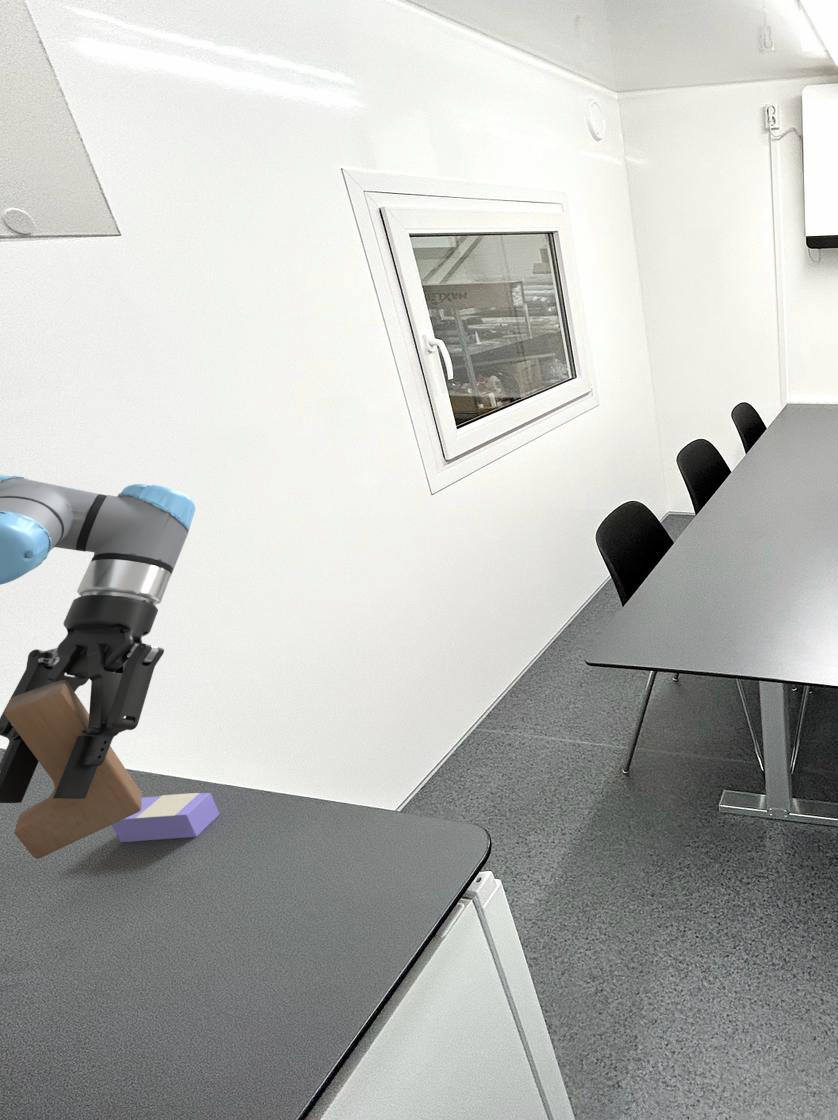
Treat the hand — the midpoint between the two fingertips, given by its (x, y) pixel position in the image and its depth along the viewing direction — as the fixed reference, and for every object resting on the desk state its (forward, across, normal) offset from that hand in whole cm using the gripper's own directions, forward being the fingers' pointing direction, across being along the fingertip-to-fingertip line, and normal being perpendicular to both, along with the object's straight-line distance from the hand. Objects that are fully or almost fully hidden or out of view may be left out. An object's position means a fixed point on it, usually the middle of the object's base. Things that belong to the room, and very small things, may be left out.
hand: (37, 800), depth 69 cm
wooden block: (+3, +1, -8) cm, 9 cm away
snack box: (+3, +3, -22) cm, 22 cm away
